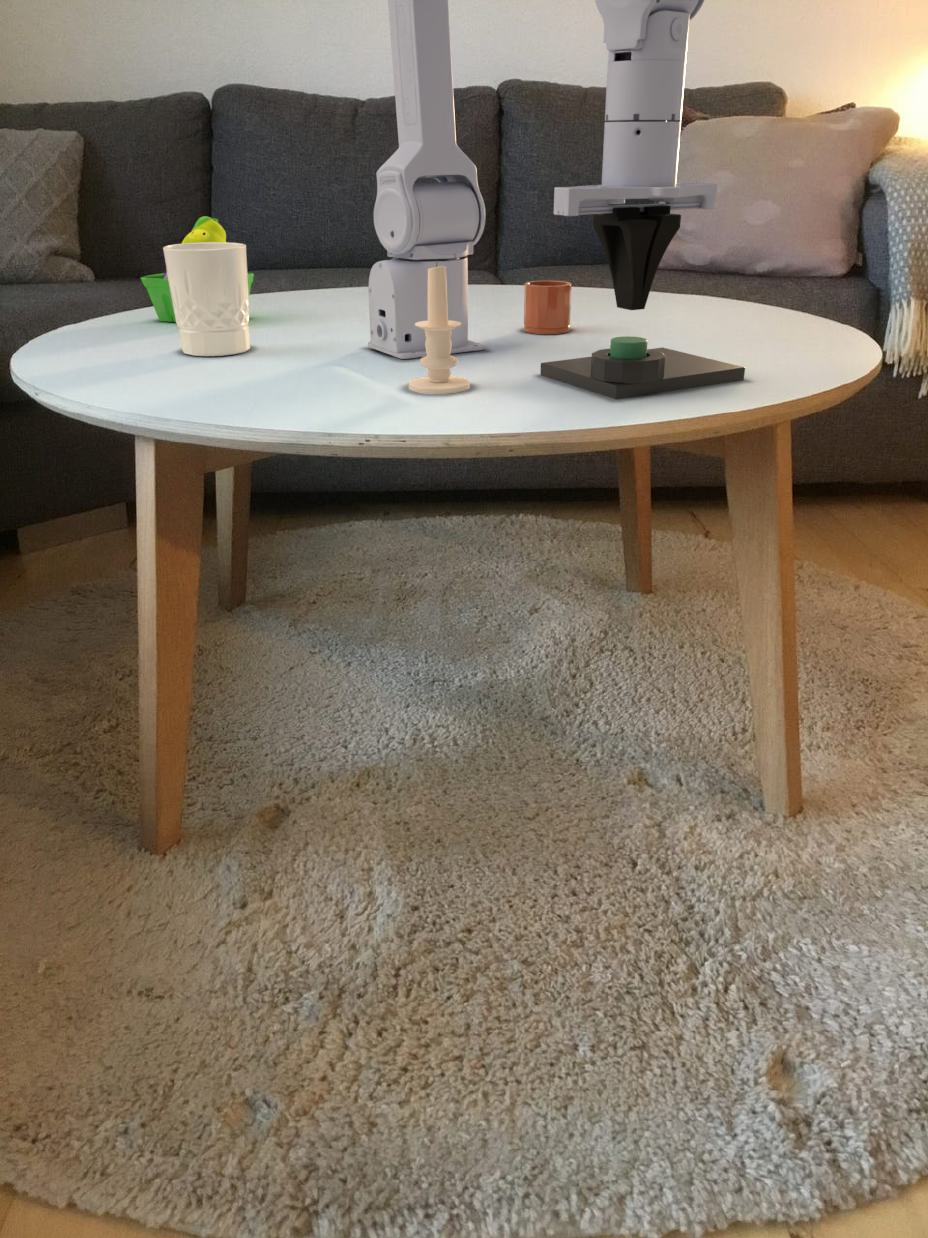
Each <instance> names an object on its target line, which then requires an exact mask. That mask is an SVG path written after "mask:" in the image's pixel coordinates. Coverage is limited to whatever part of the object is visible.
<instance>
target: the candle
mask: <svg viewBox="0 0 928 1238" xmlns="http://www.w3.org/2000/svg"><path fill="white" fill-rule="evenodd" d="M460 325H461V323H460V322H458V321H451V320H448V305H447V280H446V267H445V266H441V267H437V260H436V267H434V268H429V269H428V321H420V322H417V323H415V326H417V327H419V328H422V329H424V330H425V336H426V342H425V347H426V353H427V356H425V357H420V359H419V365H420V366H421V367H423V368H425V369H427V372H426V375H427V376H420V377H415V378H413V379H411V380H410V381H409V382H408V389H409V390H410V391H411V392H415V393H418V394H425V395H428V394H429V395H446V394H447V395H449V394H450V395H451V394H457V393H458V394H459V393H462V392H465V391H468V390H469V389H470V385H471V384H470V380H468V379H467V378H464V377H460V376H455V375H452V371H451V368H453V367H456V366H457V365H458V364H459V363H458V362H459V361H458V360H459V359H458V358H457V357H455V356H453V355H451V347H452V342H451V339H450V337H451V334H452V332H451V330H452V329H454V328H456V327H458V326H460Z"/></svg>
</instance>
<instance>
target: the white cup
mask: <svg viewBox="0 0 928 1238" xmlns="http://www.w3.org/2000/svg"><path fill="white" fill-rule="evenodd" d="M162 250H163V256H164V262H165V269H166V270H167V275H168V281H169V287H170V293H171V297H172V302H173V308H174V313H175V319H176V322H175V323H176V326H177V327H178V333H179V334H178V335H179V341H180V348H181V351H182V353H184V354H185V355H189V356H198V357H223V356H231V355H236V354H237V355H238V354H242V353H245V352H247V351H249V350H250V349H251V336H250V326H249V321H250V305H249V303H250V295H249V290H248V273H249V272H248V257H247V255H248V254H247V244H246V243H240V242H229V241H226V242H203V243H184V244H181V243H175V244H168V245H165V246H163V247H162Z"/></svg>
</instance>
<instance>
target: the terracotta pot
mask: <svg viewBox="0 0 928 1238" xmlns="http://www.w3.org/2000/svg"><path fill="white" fill-rule="evenodd" d="M523 291H524V293H523V294H524V297H523V298H524V299H523V331H524V332H526V333H529V334H534V335H559V334H565V333H568V332H570V327H571V309H572V308H571V306H572V305H571V304H572V282H569V281H564V280H531V281H526V282H524V290H523Z"/></svg>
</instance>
